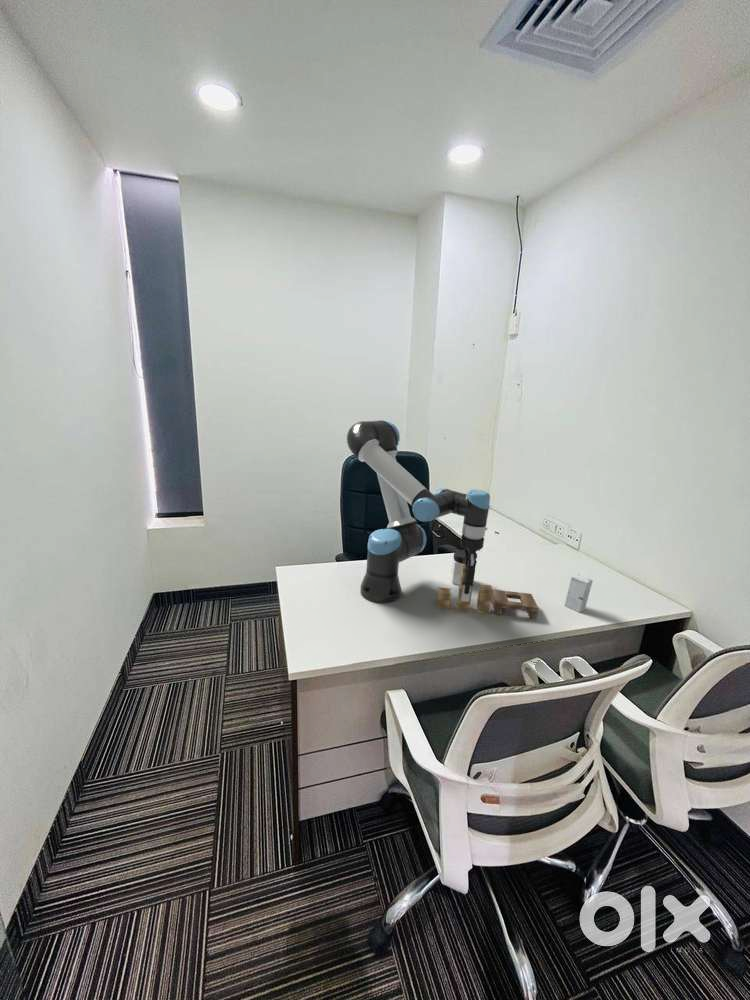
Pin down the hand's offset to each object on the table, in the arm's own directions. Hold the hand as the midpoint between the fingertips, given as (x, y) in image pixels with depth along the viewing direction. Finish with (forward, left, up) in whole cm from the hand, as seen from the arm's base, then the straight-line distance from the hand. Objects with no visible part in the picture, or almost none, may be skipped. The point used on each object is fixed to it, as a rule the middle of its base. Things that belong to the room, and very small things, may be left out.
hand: (464, 597), depth 146 cm
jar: (+1, +21, -4) cm, 21 cm away
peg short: (-7, 0, -4) cm, 8 cm away
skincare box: (+42, +10, -4) cm, 43 cm away
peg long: (0, 0, -4) cm, 4 cm away
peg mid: (+7, 0, -4) cm, 8 cm away
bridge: (+18, +3, -4) cm, 19 cm away
